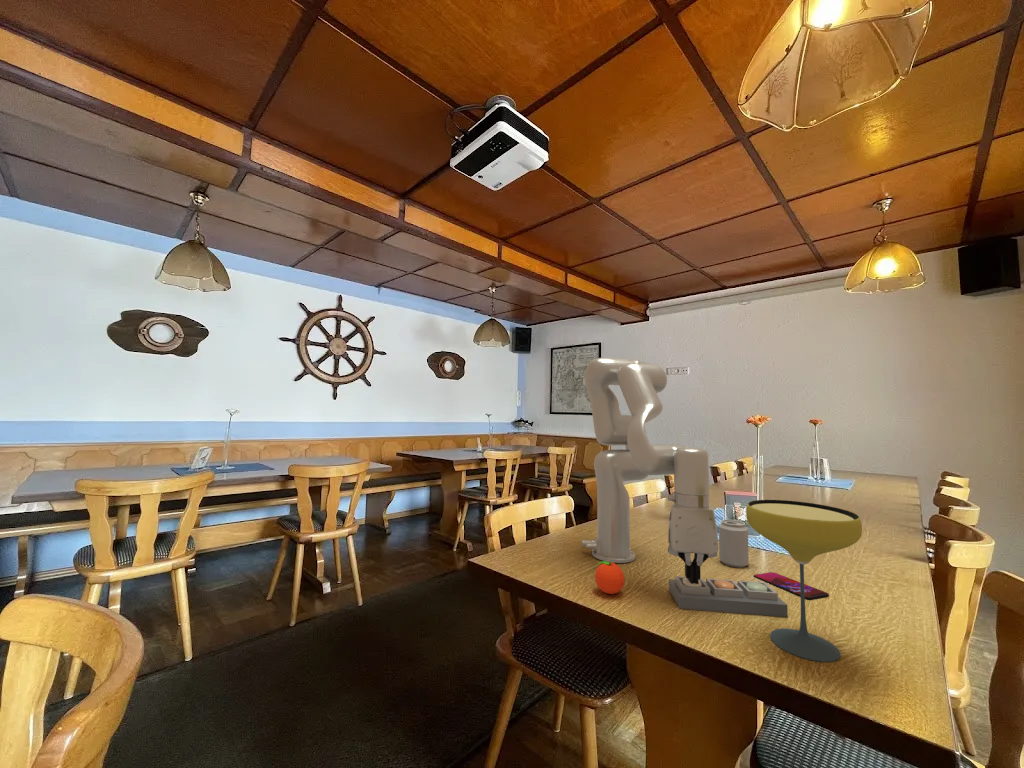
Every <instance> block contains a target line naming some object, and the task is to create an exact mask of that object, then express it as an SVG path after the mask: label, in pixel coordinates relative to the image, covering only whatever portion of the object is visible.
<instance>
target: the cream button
mask: <svg viewBox="0 0 1024 768" xmlns="http://www.w3.org/2000/svg"><path fill="white" fill-rule="evenodd" d="M683 585H684V586H695V587H702V583H701V581H700V580H698V584H696V583H693V584H691V583H690V582H689V580H688V579H687V578H683Z"/></svg>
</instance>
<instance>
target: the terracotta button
mask: <svg viewBox="0 0 1024 768" xmlns="http://www.w3.org/2000/svg"><path fill="white" fill-rule="evenodd" d="M725 580H726V579H722V580H715V581H714V585H715V587H716V588H724V589H734V584H733V583H731V582H729V581H725Z"/></svg>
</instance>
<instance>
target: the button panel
mask: <svg viewBox="0 0 1024 768" xmlns="http://www.w3.org/2000/svg"><path fill="white" fill-rule="evenodd" d="M674 578H675V579H672V578H669V579H668V591H669V592H670V594H671V596H672V598H673V599H674V601H675V604H677V606H678V608H679V609H680V610H681V609H682V610H693V611H705V612H717V613H729V614H730V613H732V614H741V615H742V614H744V615H755V616H757V615H758V616H769V617H780V618H781V617H782V618H788V617H789V616H788V615H789V614H788V604H787V603H786V602H785V601H783V600H782V599H781V598H780V597H779V596H778V595H779V594H778V592H777V591H776V590H774V589H773V588H772V587H771V586H770V585H769V584H768V583H766V582H764V581H756V582H757V583H761V584H763V585H765V586H766V587H767V592H766V591H752V590H749V589H748V588H747V583H748V582H753V581H751V580H749V581H747V580H737V583H736V582H735V581H734V580H733V579H724V580H725V581H729V582H731V583H733V584H734V589H724V588H716V587H715V585H714V581H715V580H723V579H722V578H721V579H719V578H708V577H707V578H705V581H704V579H703V578H702V577H701V578H700V579H698V580H700V581H701V583H702V587H695V586H684V585H683V578H686V577H685V576H677V575H675V577H674Z"/></svg>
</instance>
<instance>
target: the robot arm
mask: <svg viewBox="0 0 1024 768" xmlns="http://www.w3.org/2000/svg"><path fill="white" fill-rule="evenodd" d="M667 382H668V376H667V374H666V371H665V369H663V368H662V367H661V366H660V365H658V364H654V363H650V362H645V361H641V360H637V359H631V358H630V359H629V358H616V357H599V358H598V357H597V358H594V359H592V360H590V361H589V363H588V364H587V366H586V368H585V372H584V384H585V389H586V393H587V395H588V398H589V402H590V405H591V414H592V422H593V427H594V428H593V430H594V434H595V438H596V441H597V443H599V444H600V445H602V446H603V445H604V446H624V448H625V449H622V448H621V449H618V448H617V449H605V450H602V451H600V452H599V453H597V454H596V455H595V457H594V461H593V468H594V475H595V479H596V491H597V493H596V498H597V499H596V500H597V502H596V504H597V508H596V509H597V516H596V517H597V518H596V519H597V520H596V521H597V524H596V525H597V526H596V529H597V530H596V531H597V533H596V534H597V535H596V536H595V539H592V540H588V539H582V540H581V547H582V548H583V547H585V548H586V549H589V550H590V549H591V555H592V556H593V557H594V558H595V559H597V560H600V561H601V562H603V561H605V562H612V563H615V564H625V563H630V562H634V560H635V559H636V553H635V552H634V551H633V550H631V541H630V540H631V538H630V537H631V533H630V530H631V528H630V527H631V523H630V522H631V519H630V518H631V515H630V514H631V513H630V509H631V508H630V507H631V506H630V503H631V501H630V498H631V497H630V495H629V491H628V490H627V487H626V486H625V485H624V482H631V481H642V480H645V479H647V477H649V476H661V475H662V476H663V475H664V476H665V475H670V476H671V475H672V476H673V493H672V494H668V495H667V500H668V501H669V502H673V503H674V504H671V507H670V510H669V511H670V512H669V517H668V518H669V519H668V529H667V531H668V533H667V537H668V539H667V540H668V541H667V542H668V549H667V552H668V554H669V555H671V556H676V557H679V558H680V559H681V561H683V562H684V577H686V578H687V579H688V580H689V582H690V583H691V584H693V583H696V584H698V579H700V578H702V577H701V576H702V575H701V566H703V563H704V562H705V561H707V560H708V559H712V558H716V557H718V555H719V554H718V553H719V534H718V528H717V522H716V521H717V520H716V514H715V511H714V508H713V507H711V506H710V482H709V481H710V480H709V478H710V476H709V471H710V470H709V453H708V452H707V450H706V449H704V448H701V447H689V446H688V447H687V446H684V445H682V444H674V443H673V444H671V443H670V444H669V443H668V444H661V443H660V444H652V443H651V442H650V440H649V438H648V436H647V433H646V426H645V425H646V423H648V422H650V421H652V420H654V419H656V418H657V417H658V416H659V415H660V414H661V413H662V412H663V404H662V401H661V400H660V398H659V396H658V394H659V393H661V392H662V391H664V390H665V388H666V386H667V384H668V383H667ZM609 386H619V388H620V390H621V392H622V396H623V398H624V400H625V403H626V406H627V407H628V410H629V412H630V414H629V415H628V414H622V413H621V411H620V404H619V399H618V398H617V396H616V395H615V393H614V392H613V390H612V389H611V387H609ZM691 554H693V559H692V557H691Z"/></svg>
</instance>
